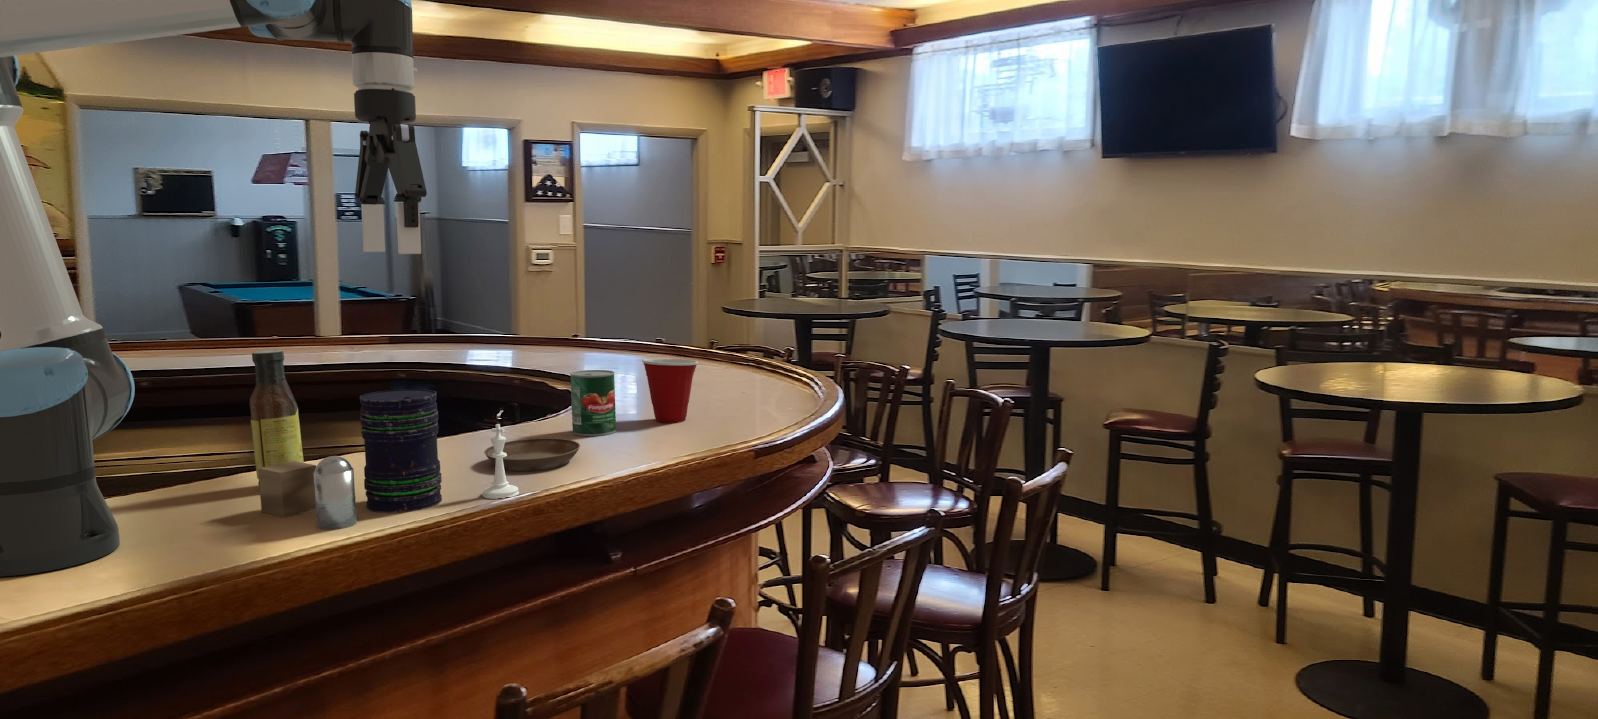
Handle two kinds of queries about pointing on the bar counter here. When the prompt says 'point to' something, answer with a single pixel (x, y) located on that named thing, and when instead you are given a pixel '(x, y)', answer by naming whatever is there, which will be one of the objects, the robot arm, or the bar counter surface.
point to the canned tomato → (593, 402)
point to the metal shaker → (334, 494)
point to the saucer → (535, 453)
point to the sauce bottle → (273, 413)
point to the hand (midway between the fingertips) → (391, 253)
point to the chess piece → (499, 470)
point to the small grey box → (287, 489)
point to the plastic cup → (670, 387)
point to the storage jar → (401, 450)
